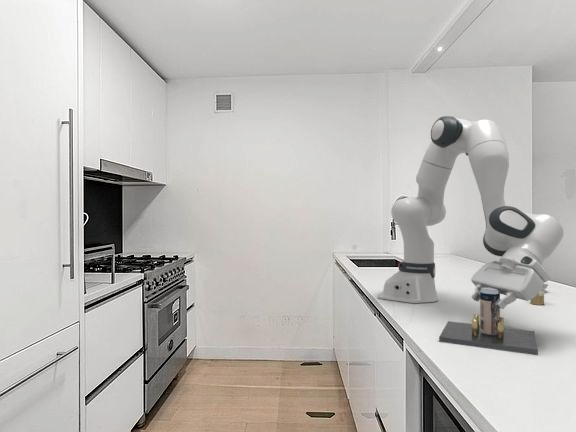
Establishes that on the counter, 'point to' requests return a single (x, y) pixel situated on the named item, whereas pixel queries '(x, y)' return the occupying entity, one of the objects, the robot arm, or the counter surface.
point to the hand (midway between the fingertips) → (486, 303)
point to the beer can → (489, 310)
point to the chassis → (490, 337)
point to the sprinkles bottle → (538, 298)
